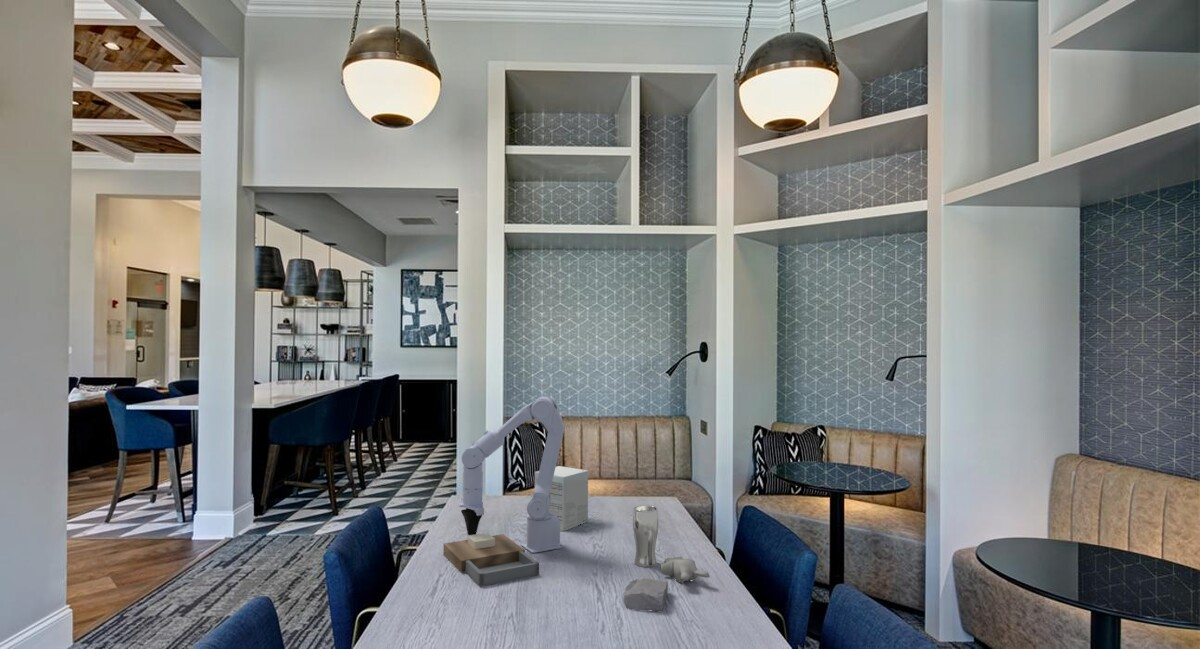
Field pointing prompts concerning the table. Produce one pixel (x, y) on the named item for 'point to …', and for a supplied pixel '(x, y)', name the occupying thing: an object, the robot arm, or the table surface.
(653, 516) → the beer glass
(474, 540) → the tile
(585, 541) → the table surface
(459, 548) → the drawer casing
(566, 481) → the supplement box
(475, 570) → the box
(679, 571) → the bunny figurine
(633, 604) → the stone block
